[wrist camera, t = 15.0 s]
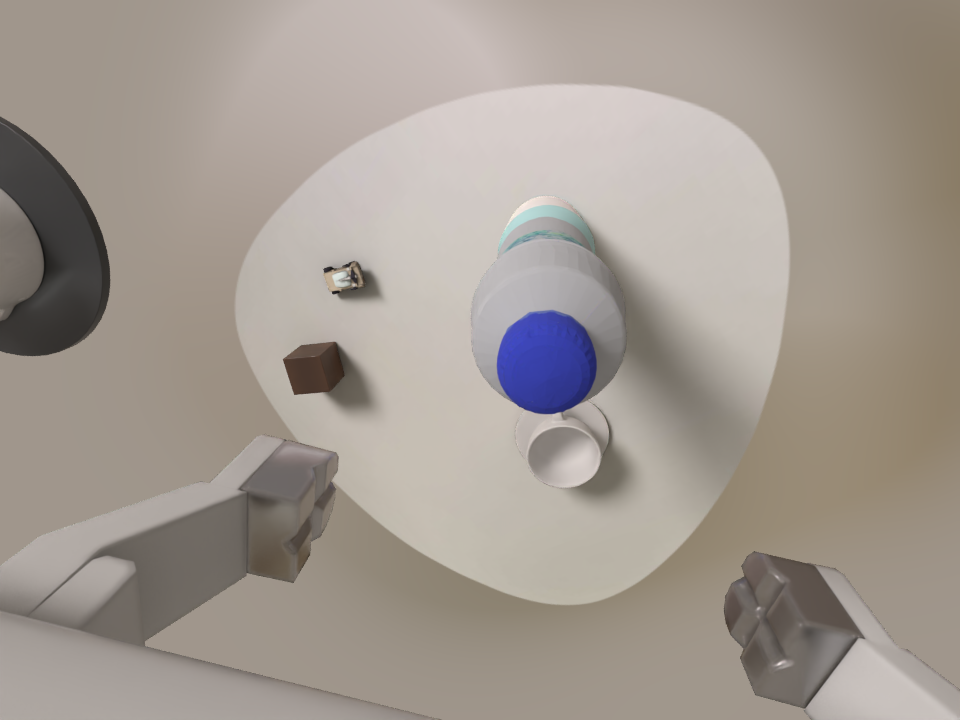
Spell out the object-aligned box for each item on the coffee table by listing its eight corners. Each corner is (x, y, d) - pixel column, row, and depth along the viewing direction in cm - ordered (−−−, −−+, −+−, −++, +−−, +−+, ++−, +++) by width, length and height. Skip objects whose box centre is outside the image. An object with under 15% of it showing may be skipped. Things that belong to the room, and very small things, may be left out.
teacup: (612, 467, 53) (619, 494, 49) (523, 476, 55) (522, 502, 51) (603, 386, 50) (609, 407, 45) (508, 398, 51) (505, 420, 47)
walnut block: (310, 378, 53) (294, 395, 50) (300, 345, 52) (282, 359, 48) (344, 375, 53) (330, 391, 49) (335, 341, 51) (319, 355, 48)
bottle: (496, 306, 35) (449, 464, 17) (495, 211, 33) (438, 275, 14) (590, 307, 34) (647, 473, 16) (596, 209, 32) (672, 275, 14)
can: (518, 185, 43) (511, 194, 32) (594, 207, 43) (612, 223, 32) (497, 261, 46) (484, 293, 35) (568, 281, 46) (577, 320, 35)
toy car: (325, 267, 48) (316, 272, 46) (362, 258, 47) (354, 262, 46) (334, 292, 49) (326, 297, 47) (370, 283, 48) (364, 288, 46)
